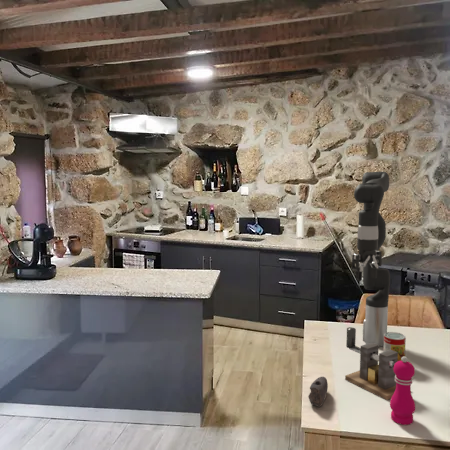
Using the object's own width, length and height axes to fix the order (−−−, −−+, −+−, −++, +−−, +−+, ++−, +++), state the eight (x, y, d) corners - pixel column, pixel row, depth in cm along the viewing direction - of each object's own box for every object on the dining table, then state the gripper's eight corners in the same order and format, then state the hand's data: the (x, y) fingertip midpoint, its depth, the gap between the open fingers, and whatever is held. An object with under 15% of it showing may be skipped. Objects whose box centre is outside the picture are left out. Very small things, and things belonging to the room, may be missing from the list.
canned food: (408, 367, 175) (410, 337, 174) (393, 370, 172) (394, 340, 171) (394, 359, 182) (395, 330, 181) (378, 362, 179) (379, 333, 178)
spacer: (367, 380, 161) (368, 367, 160) (377, 377, 164) (377, 364, 163) (374, 384, 158) (375, 370, 158) (384, 380, 161) (384, 367, 161)
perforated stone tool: (317, 387, 159) (317, 369, 158) (332, 391, 157) (332, 371, 156) (305, 408, 146) (305, 387, 145) (321, 411, 143) (322, 390, 143)
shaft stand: (345, 379, 165) (346, 344, 164) (367, 371, 172) (368, 337, 170) (386, 400, 150) (388, 361, 149) (409, 390, 157) (410, 353, 155)
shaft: (344, 349, 170) (345, 328, 169) (350, 347, 172) (350, 326, 171) (388, 367, 154) (389, 345, 153) (394, 365, 156) (395, 343, 155)
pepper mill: (385, 413, 142) (387, 352, 140) (407, 412, 143) (410, 351, 140) (395, 426, 135) (398, 362, 132) (419, 425, 135) (422, 361, 133)
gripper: (372, 234, 179) (370, 274, 181) (347, 237, 171) (346, 279, 173) (388, 236, 173) (386, 278, 175) (363, 240, 165) (361, 283, 167)
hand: (366, 279), depth 174 cm, fingers open, 8 cm apart
